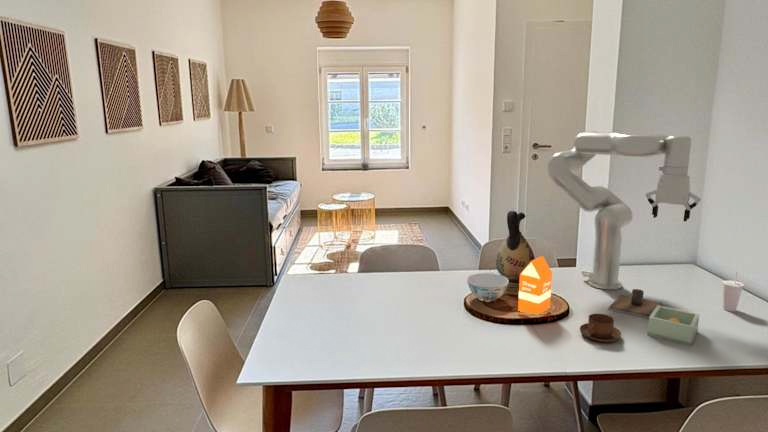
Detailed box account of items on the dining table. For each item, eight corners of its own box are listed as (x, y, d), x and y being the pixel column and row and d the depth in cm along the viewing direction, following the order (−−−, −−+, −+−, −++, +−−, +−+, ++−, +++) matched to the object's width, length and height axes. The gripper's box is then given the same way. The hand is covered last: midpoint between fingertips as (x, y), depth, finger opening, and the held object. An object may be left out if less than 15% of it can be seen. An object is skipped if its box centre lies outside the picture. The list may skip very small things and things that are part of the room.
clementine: (664, 331, 164) (665, 319, 163) (666, 326, 167) (668, 315, 166) (678, 334, 161) (680, 322, 161) (681, 329, 164) (682, 318, 164)
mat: (608, 309, 183) (608, 308, 183) (619, 297, 195) (619, 295, 194) (655, 320, 174) (655, 318, 174) (664, 306, 185) (664, 304, 185)
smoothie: (743, 313, 179) (749, 274, 176) (723, 312, 180) (728, 273, 177) (735, 306, 185) (741, 268, 182) (715, 305, 186) (720, 267, 183)
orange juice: (517, 314, 180) (520, 258, 176) (529, 306, 187) (532, 253, 182) (538, 320, 175) (541, 263, 171) (550, 312, 181) (553, 257, 177)
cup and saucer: (617, 348, 155) (619, 329, 154) (575, 339, 161) (577, 321, 160) (623, 333, 165) (625, 315, 164) (583, 325, 171) (585, 307, 170)
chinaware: (462, 303, 190) (463, 283, 188) (471, 290, 203) (472, 271, 202) (504, 309, 184) (505, 288, 183) (510, 295, 198) (511, 275, 196)
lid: (610, 308, 183) (611, 292, 182) (620, 296, 194) (622, 281, 193) (653, 317, 175) (655, 301, 173) (662, 304, 185) (664, 289, 184)
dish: (647, 335, 163) (649, 317, 162) (655, 322, 173) (657, 305, 171) (690, 345, 156) (693, 327, 155) (697, 331, 165) (699, 314, 164)
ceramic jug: (504, 273, 223) (507, 204, 216) (539, 280, 214) (543, 208, 207) (487, 284, 209) (489, 211, 203) (524, 292, 200) (528, 216, 194)
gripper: (646, 170, 185) (641, 217, 188) (702, 174, 174) (696, 224, 178) (650, 168, 190) (646, 214, 194) (705, 171, 180) (699, 220, 184)
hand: (670, 218), depth 186 cm, fingers open, 9 cm apart
